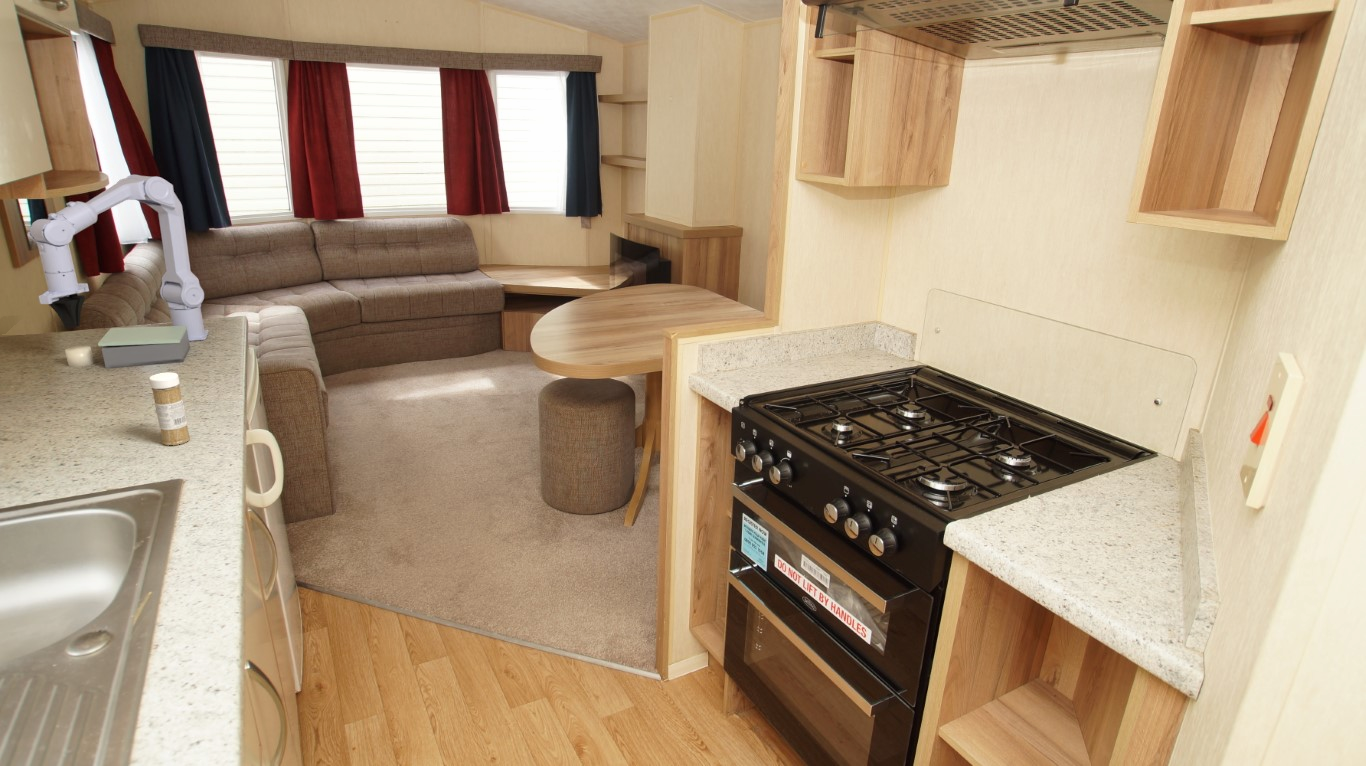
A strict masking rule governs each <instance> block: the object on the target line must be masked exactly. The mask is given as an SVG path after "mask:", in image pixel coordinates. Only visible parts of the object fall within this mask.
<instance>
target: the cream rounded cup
mask: <svg viewBox="0 0 1366 766" xmlns="http://www.w3.org/2000/svg"><path fill="white" fill-rule="evenodd" d="M91 347H92V346H90V345H77V346H71V347H68V348H65V349H64V353H65V358H66V360H67V361H66V362H67V364H68V367H70V368H82V366H83V367H87V366H90V365H91V366H92V365H94V364H95V359H94V356H93V352H92V348H91Z"/></svg>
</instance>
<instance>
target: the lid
mask: <svg viewBox="0 0 1366 766" xmlns="http://www.w3.org/2000/svg"><path fill="white" fill-rule="evenodd" d="M186 330H187V326H172V325H170V326H169V325H167V326H166V325H165V326H139V327H137V326H136V327H135V326H133V327H110V329H108V331H107V332H106V333H105V334H104V335H103V337H102V338H101V339H99V342H97V345H98V347H103V346H116V345H140V344H165V343H180V341H181V340H182V338H183V336H184V334H185V332H186Z"/></svg>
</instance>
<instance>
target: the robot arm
mask: <svg viewBox="0 0 1366 766" xmlns="http://www.w3.org/2000/svg"><path fill="white" fill-rule="evenodd" d="M174 191H175V190H174V184H172V183H170V182H169V181H168V180H166V179H164V178H163V177H160V176H157V175H156V176H146V175H139V174H130V175H128V176H126V177H124V178H122V179H121V178H120V180H119V179H118V181H117V182H116V183H114V184H113V185H112V186H110V187H109V188H107V189H106V190H104V191H102V192H101V193H99V194H97V195H96V196H94V197H93V198H91V199H89V200H88V201H86V202H83V201H69V202H66V203H65V205H66V207H64V208H62V209H61V210H59V211H57V212H55V213H54V212H51V213H48V215H47V216H48V217H47V218H41V219H36V220H35V221H34V222H32V223H31V226H30V228H29V231H28V232H27V234H28V236H29V238H30V239H31V240H32V241H33V242H34V243H36V245H37V248H38V252H39V253H38V254H39V256H40V262H41V266H42V271H43V274H44V277H45V281H46V286H47V291H45V292H44V293H42V294H41V295H38V300H39V304H40V305H48V306H49V307H51V308H52V309H53V311H54V312H55V313H56V314H57V315H58V317H59V319H60V321H61V322H62V324H63V325H64V328H66V329H75V328H77V327H80V325H81V315H82V314H81V312H82V308H83V305H84V302H85V301H86V296H85V295H78V294H82V293H86V292H90V289H89V285H88V283H86V282H85V283H79V282H78V278H77V275H76V274H77V273H76V269H75V265H74V261H73V256H72V252H71V248H70V243H71V242H72V240H73V237H74V236H75V235H77V234H78V233H80V232H81V231H83V230H85V229H87V228H89V227H90V226H92V225H93V224H96V223H97V221H98V215H99V214H101V213H103V212H106V211H107V210H110V209H111V208H113V207H116V206H118V205H120V204H121V203H123V202H126V201H128V200H129V201H130V200H132V201H138V202H140V203H143V204H146V205H147V206H149V207H150V208H151V209H153V210H154V211H155V212H157V213H158V220H159V227H160V234H161V235H160V236H161V241H162V249H163V257H164V262H165V263H164V264H165V270H166V271H165V272H164V274H163V275H162V277H161V287H160V290H159V294H160V297H161V299H162V300H163V301H164V302H165V303H166V305H167V307H168V309H169V314H170V316H169V317H170V319H171V326H187V332H188V337H189V342H190V341H191V342H193V341H194V342H195V341H205V340H207V336H208V334H209V333H210V331H209V330H208V329H205V325H204V319H203V315H202V308H201V307H202V303H203V301H204V299H205V291H204V289H203V288H202V286H201V284H200V281H199V278H198V276H196V275H195V274H194V273H193V272H192V271H191V263H190V257H189V248H188V240H187V234H186V226H185V219H184V211H183V205H182V203H181V201H180V199H179V198H178V196H177V194H176V193H175V192H174Z"/></svg>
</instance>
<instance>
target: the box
mask: <svg viewBox="0 0 1366 766" xmlns="http://www.w3.org/2000/svg"><path fill="white" fill-rule="evenodd" d="M101 347H102V348H101V354H102V357H103V362H104V366H105V369H115V368H126V367H139V366H140V367H141V366H150V365H151V366H152V365H153V366H154V365H163V364H172V363H173V364H174V363H184V362H185V360H186V358H187V355H188V353H189V351H190V349H191V344H190V341H189V337H188V332H187V330H186V332H185V334H184V336H183V338H182V340H181V341H180V343H165V344H140V345H116V346H101Z"/></svg>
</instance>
